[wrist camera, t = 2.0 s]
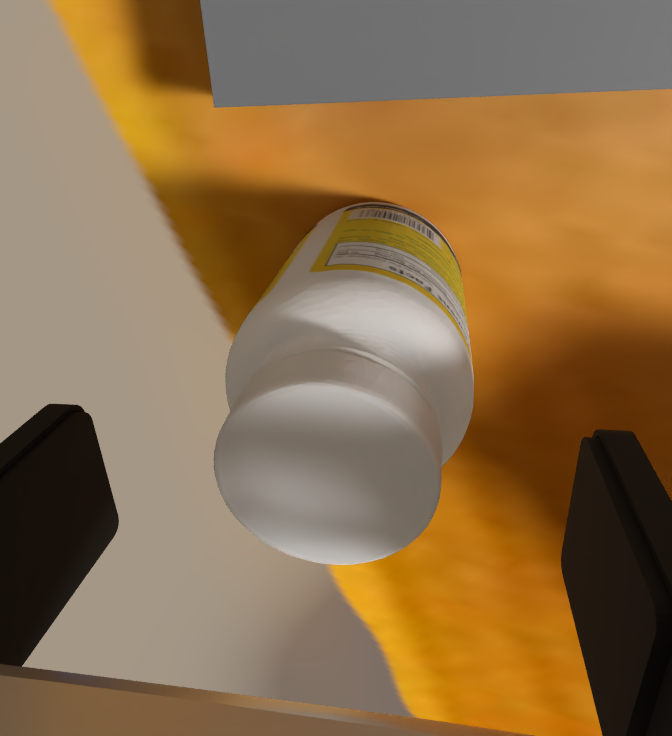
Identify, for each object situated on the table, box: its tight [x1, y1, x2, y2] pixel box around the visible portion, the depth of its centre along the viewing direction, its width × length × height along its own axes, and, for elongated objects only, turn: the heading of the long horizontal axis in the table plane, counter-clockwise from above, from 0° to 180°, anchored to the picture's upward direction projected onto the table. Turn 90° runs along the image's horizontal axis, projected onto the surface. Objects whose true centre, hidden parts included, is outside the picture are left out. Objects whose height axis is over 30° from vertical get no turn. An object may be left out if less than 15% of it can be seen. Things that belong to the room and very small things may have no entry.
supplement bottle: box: [214, 202, 474, 565], centre depth 14 cm, size 5×5×10 cm
